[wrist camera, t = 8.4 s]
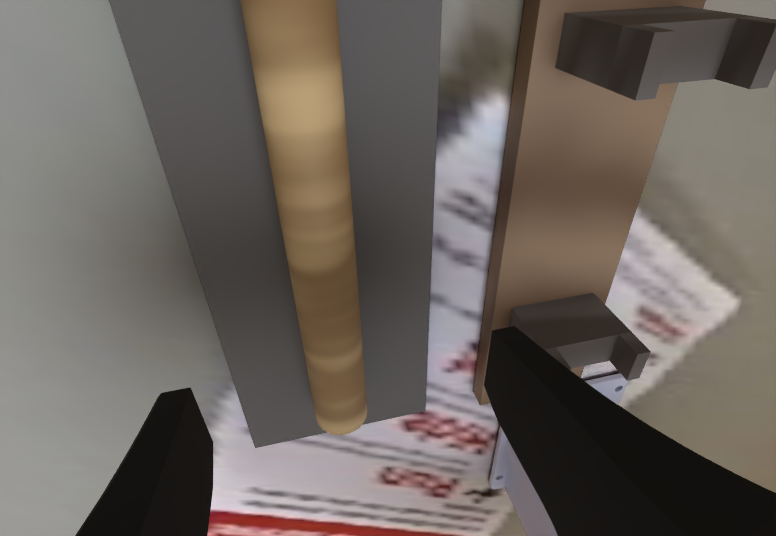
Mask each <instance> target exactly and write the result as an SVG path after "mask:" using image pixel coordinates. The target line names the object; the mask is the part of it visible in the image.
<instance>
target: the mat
mask: <svg viewBox="0 0 776 536" xmlns="http://www.w3.org/2000/svg"><path fill="white" fill-rule="evenodd" d="M109 2H110V5H111V8H112V11H113V14H114V17H115V20H116V23H117V27H118V30H119V33H120V36H121V39H122V42H123V45H124V48H125V51H126V54H127V57H128V60H129V63H130V66H131V69H132V72H133V75H134V79H135V82H136V85H137V88H138V91H139V94H140V97H141V100H142V103H143V106H144V109H145V112H146V115H147V118H148V121H149V124H150V127H151V131H152V134H153V137H154V140H155V143H156V146H157V149H158V152H159V155H160V158H161V161H162V164H163V167H164V170H165V173H166V176H167V180H168V183H169V186H170V189H171V192H172V195H173V198H174V201H175V204H176V207H177V210H178V213H179V216H180V219H181V222H182V225H183V228H184V232H185V235H186V238H187V241H188V244H189V247H190V250H191V253H192V256H193V259H194V262H195V265H196V268H197V271H198V274H199V277H200V281H201V284H202V287H203V290H204V293H205V296H206V299H207V302H208V305H209V308H210V311H211V314H212V317H213V320H214V323H215V326H216V329H217V333H218V336H219V339H220V342H221V345H222V348H223V351H224V354H225V357H226V360H227V363H228V366H229V369H230V372H231V375H232V378H233V382H234V385H235V388H236V391H237V394H238V397H239V400H240V403H241V406H242V409H243V412H244V415H245V418H246V421H247V424H248V427H249V430H250V434H251V437H252V440H253V443H254V446H255V448H258V447H262V446H267V445H271V444H276V443H280V442H285V441H290V440H294V439H299V438H303V437H308V436H312V435H317V434H322V433H326V431H324V430H323V429H322V428H321V427H320V426H319V425H318V423H317V420H316V415H315V410H314V404H313V399H312V393H311V388H310V382H309V377H308V371H307V365H306V360H305V354H304V349H303V343H302V338H301V332H300V327H299V321H298V316H297V310H296V305H295V299H294V294H293V288H292V283H291V277H290V272H289V266H288V261H287V255H286V250H285V244H284V239H283V233H282V228H281V222H280V217H279V211H278V205H277V200H276V194H275V189H274V183H273V178H272V172H271V167H270V161H269V156H268V150H267V145H266V139H265V134H264V128H263V123H262V117H261V112H260V106H259V101H258V95H257V90H256V84H255V79H254V73H253V68H252V62H251V57H250V51H249V46H248V40H247V34H246V29H245V23H244V18H243V12H242V7H241V1H240V0H109ZM337 12H338V26H339V39H340V52H341V66H342V79H343V92H344V106H345V119H346V132H347V146H348V159H349V172H350V186H351V199H352V212H353V226H354V239H355V252H356V266H357V279H358V292H359V306H360V319H361V332H362V345H363V359H364V372H365V385H366V399H367V417H366V419H365V421H364V423H363V424H367V423H372V422H376V421H381V420H386V419H390V418H395V417H399V416H404V415H408V414H413V413H418V412H422V411H425V407H426V382H427V357H428V333H429V308H430V284H431V259H432V234H433V210H434V185H435V161H436V136H437V111H438V87H439V62H440V38H441V13H442V0H337ZM363 424H362V425H363Z"/></svg>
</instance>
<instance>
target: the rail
mask: <svg viewBox="0 0 776 536" xmlns="http://www.w3.org/2000/svg"><path fill="white" fill-rule="evenodd" d="M240 1H241V7H242V12H243V18H244V23H245V29H246V34H247V40H248V46H249V51H250V57H251V62H252V68H253V73H254V79H255V84H256V90H257V95H258V101H259V106H260V112H261V117H262V123H263V128H264V134H265V139H266V145H267V150H268V156H269V161H270V167H271V172H272V178H273V183H274V189H275V194H276V200H277V205H278V211H279V217H280V222H281V228H282V233H283V239H284V244H285V250H286V255H287V261H288V266H289V272H290V277H291V283H292V288H293V294H294V299H295V305H296V310H297V316H298V321H299V327H300V332H301V338H302V343H303V349H304V354H305V360H306V365H307V371H308V377H309V382H310V388H311V393H312V399H313V404H314V410H315V415H316V420H317V423H318V425H319V426H320V427H321V428H322V429H323V430H324V431H326V432H328V433H330V434H335V435H344V434H348V433H351V432H353V431H355V430H357V429H358V428H359V427H360V426H361V425H362V424H363V423H364V421H365V419H366V417H367V399H366V385H365V372H364V359H363V345H362V332H361V319H360V306H359V292H358V279H357V266H356V252H355V239H354V226H353V212H352V199H351V186H350V172H349V159H348V146H347V132H346V119H345V106H344V92H343V79H342V66H341V52H340V39H339V26H338V12H337V0H240Z"/></svg>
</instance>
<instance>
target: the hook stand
mask: <svg viewBox="0 0 776 536" xmlns="http://www.w3.org/2000/svg"><path fill="white" fill-rule="evenodd" d="M705 1H706V0H525V1H524V8H523V16H522V23H521V31H520V39H519V46H518V54H517V61H516V69H515V77H514V84H513V92H512V99H511V107H510V115H509V122H508V130H507V137H506V145H505V153H504V160H503V168H502V175H501V183H500V190H499V198H498V206H497V213H496V221H495V228H494V236H493V244H492V251H491V259H490V266H489V274H488V282H487V289H486V297H485V304H484V312H483V320H482V327H481V335H480V342H479V350H478V358H477V365H476V373H475V380H474V388H473V392H474V394H475V396H476V398H477V400H478V402H479V404H480V405H483V404H488V403H490V400H489V397H488V395H487V392H486V389H485V387H484V380H485V374H486V367H487V360H488V353H489V347H490V340H491V333H492V330H496V329H502V328H507V327H512V326H515V327H516V328H518V329H519V330H520V331H521V332H523V333H524V334H525V335H526V336H528V337H529V338H530V339H531V340H533V341H534V342H535V343H536V344H538V345H539V346H540V347H541V348H543V349H544V350H545V351H546V352H548V353H549V354H550V355H551V356H553V357H554V358H555V359H556V360H558V361H559V362H560V363H562V364H563V365H564V366H565V367H567V368H568V369H569V370H571V371H572V372H573V373H574V374H576V375H577V376H578V377H580V378H581V375H582V372H583V369H584V366H586V365H591V364H595V363H600V362H605V361H609V360H610V362H611V363H612V364H613V365H614V366H615V367H616V369H617V370H618V371H619V372H620V373H621V374H622V376H623V377H624V378H625V379H626V380H627V381H628V380H632V379H636V378H639V377H640V375H641V372H642V370H643V368H644V366H645V363H646V361H647V359H648V357H649V354H650V350H649V349H648V348H647V347H646V346H645V345H644V344H643V343H642V342H641V341H640V340H639V339H638V338H637V337H636V336H635V335H634V334H633V333H632V332H631V331H630V330H629V329H628V328H627V327H626V326H625V325H624V324H623V323H622V322H621V321H620V320H619V319H618V318H617V317H616V316H615V315H614V314H613V313H612V312H611V311H610V310H609V309H608V307H607V306H606V305H605V302H606V299H607V296H608V293H609V290H610V287H611V284H612V281H613V278H614V275H615V272H616V269H617V266H618V263H619V260H620V257H621V254H622V251H623V248H624V245H625V242H626V239H627V236H628V233H629V230H630V227H631V224H632V221H633V218H634V215H635V212H636V209H637V206H638V203H639V200H640V197H641V194H642V191H643V188H644V185H645V182H646V179H647V176H648V173H649V170H650V167H651V164H652V161H653V158H654V155H655V152H656V148H657V145H658V142H659V139H660V136H661V133H662V130H663V127H664V124H665V121H666V118H667V115H668V112H669V109H670V106H671V103H672V100H673V97H674V94H675V91H676V88H677V85H678V82H688V81H698V80H709V79H717V80H720V81H724V82H727V83H730V84H734V85H737V86H741V87H744V88H748V89H756V88H765V87H768V85H769V83H770V81H771V78H772V76H773V74H774V72H775V69H776V20H775V19H768V18H761V17H754V16H747V15H740V14H733V13H726V12H720V11H713V10H706V9H703V7H704V4H705Z"/></svg>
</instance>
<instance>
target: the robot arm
mask: <svg viewBox="0 0 776 536" xmlns="http://www.w3.org/2000/svg"><path fill="white" fill-rule="evenodd" d="M627 382H628V381H627V380H626V379H625V378H624V377H623V376H622V374H621V373H619V374H614V375H610V376H605V377H601V378H596V379H592V380H587V381H584V380H582V379H581V378H580V377H578V376H577V375H576V374H574V373H573V372H572V371H571V370H569V369H568V368H567V367H565V366H564V365H563V364H562V363H560V362H559V361H558V360H556V359H555V358H554V357H553V356H551V355H550V354H549V353H548V352H546V351H545V350H544V349H543V348H541V347H540V346H539V345H538V344H536V343H535V342H534V341H533V340H531V339H530V338H529V337H528V336H526V335H525V334H524V333H523V332H521V331H520V330H519V329H518V328H516V327H515V326H512V327H507V328H502V329H496V330H492V333H491V340H490V347H489V353H488V360H487V367H486V374H485V380H484V387H485V389H486V392H487V395H488V397H489V400H490V403H491V405H492V408H493V410H494V412H495V415H496V417H497V420H498V422H499V424H500V430H499V435H498V440H497V445H496V450H495V455H494V460H493V465H492V470H491V475H490V480H489V484H490V487H491V488H492V489H499V488H503V487H505V488H506V491H507V493H508V495H509V497H510V499H511V501H512V503H513V506H514V508H515V510H516V512H517V514H518V516H519V519H520V521H521V523H522V525H523V527H524V529H525V531H526V534H527V536H776V493H774V492H772V491H770V490H768V489H766V488H763V487H761V486H759V485H757V484H755V483H753V482H751V481H749V480H747V479H745V478H743V477H741V476H739V475H737V474H735V473H733V472H731V471H729V470H727V469H725V468H723V467H721V466H720V465H718V464H716V463H714V462H712V461H710V460H708V459H706V458H704V457H702V456H701V455H699V454H697V453H695V452H693V451H692V450H690V449H688V448H686V447H684V446H683V445H681V444H679V443H678V442H676V441H674V440H672V439H671V438H669V437H667V436H666V435H664V434H662V433H661V432H659V431H657V430H656V429H654V428H652V427H651V426H649V425H648V424H646V423H644V422H643V421H641V420H640V419H638V418H637V417H635V416H634V415H632V414H631V413H629V412H628V411H626V410H625V409H623V408H622V407H620V406H619V405H618V403H619V401H620V399H621V396H622V394H623V391H624V389H625V387H626V384H627ZM212 490H213V441H212V439H211V436H210V434H209V431H208V429H207V426H206V424H205V422H204V419H203V417H202V414H201V412H200V409H199V407H198V405H197V402H196V400H195V397H194V395H193V392H192V390H191V388H185V389H180V390H175V391H170V392H164V393H161V394H160V396H159V397H158V398H157V400H156V402H155V404H154V406H153V407H152V409H151V411H150V413H149V415H148V417H147V419H146V420H145V422H144V424H143V426H142V428H141V430H140V431H139V433H138V435H137V437H136V439H135V440H134V442H133V444H132V446H131V447H130V449H129V451H128V453H127V454H126V456H125V458H124V459H123V461H122V463H121V464H120V466H119V468H118V469H117V471H116V473H115V474H114V476H113V478H112V479H111V481H110V483H109V484H108V486H107V488H106V489H105V491H104V493H103V494H102V496H101V497H100V499H99V501H98V502H97V504H96V505H95V507H94V508H93V510H92V511H91V513H90V514H89V516H88V517H87V519H86V520H85V522H84V523H83V525H82V526H81V528H80V529H79V531H78V532H77V534H76V535H75V536H207V533H208V525H209V516H210V508H211V499H212Z"/></svg>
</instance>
